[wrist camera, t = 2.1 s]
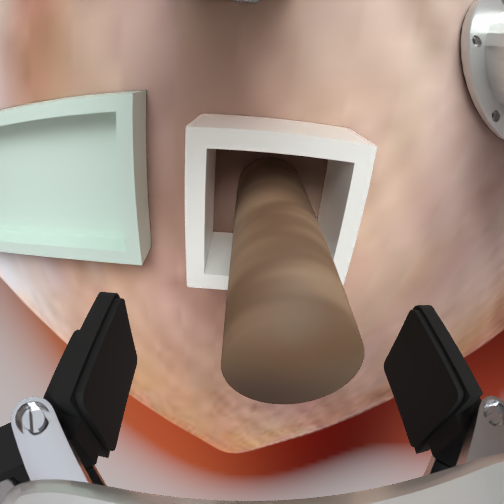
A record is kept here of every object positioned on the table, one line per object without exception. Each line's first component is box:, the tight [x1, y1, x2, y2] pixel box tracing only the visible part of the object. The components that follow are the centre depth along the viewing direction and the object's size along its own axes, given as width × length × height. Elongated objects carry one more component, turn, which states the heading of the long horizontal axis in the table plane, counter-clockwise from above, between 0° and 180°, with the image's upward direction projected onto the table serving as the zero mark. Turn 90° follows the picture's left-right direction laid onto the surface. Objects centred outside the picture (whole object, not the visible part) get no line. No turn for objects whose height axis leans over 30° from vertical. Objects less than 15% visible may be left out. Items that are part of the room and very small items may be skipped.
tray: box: [0, 90, 151, 265], centre depth 18 cm, size 18×11×2 cm, turn 85°
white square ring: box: [185, 114, 377, 290], centre depth 18 cm, size 9×9×5 cm
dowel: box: [221, 157, 364, 404], centre depth 14 cm, size 4×4×14 cm
